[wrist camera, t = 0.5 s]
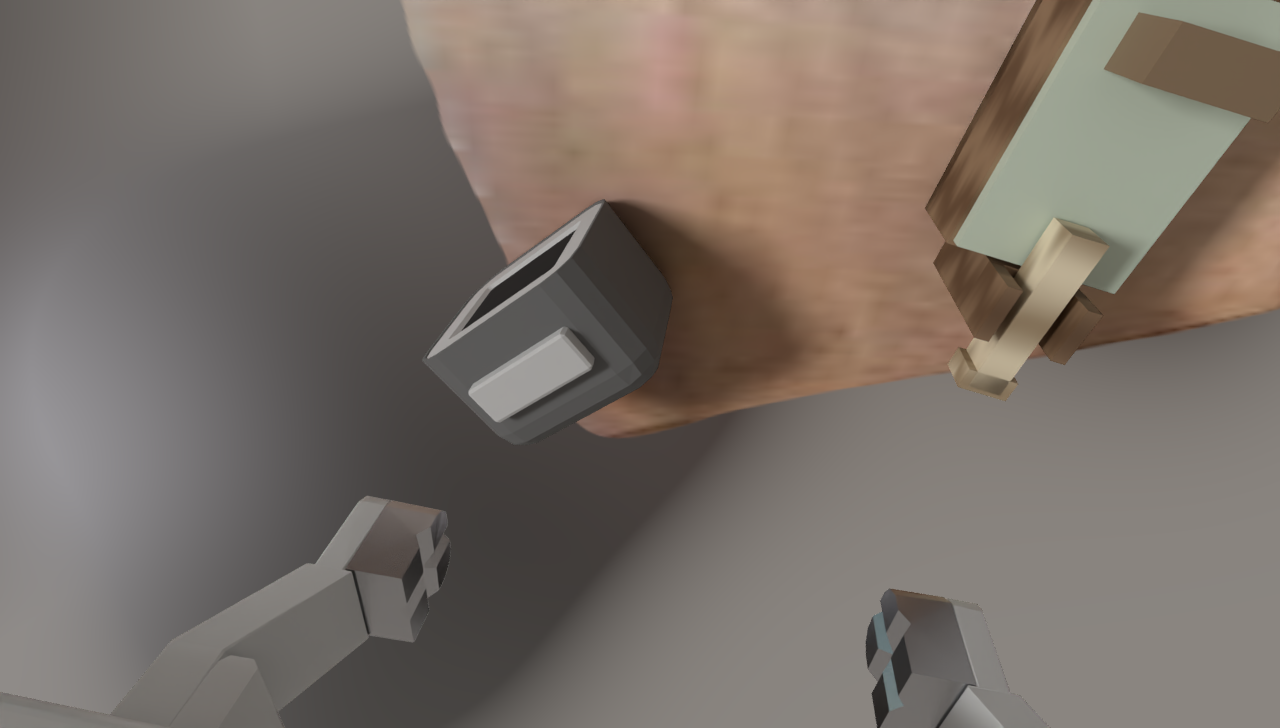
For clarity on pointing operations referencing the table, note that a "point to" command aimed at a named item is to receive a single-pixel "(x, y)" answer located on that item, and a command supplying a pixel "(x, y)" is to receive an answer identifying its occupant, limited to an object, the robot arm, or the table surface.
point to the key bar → (1030, 308)
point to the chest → (968, 274)
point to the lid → (1130, 126)
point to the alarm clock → (558, 330)
